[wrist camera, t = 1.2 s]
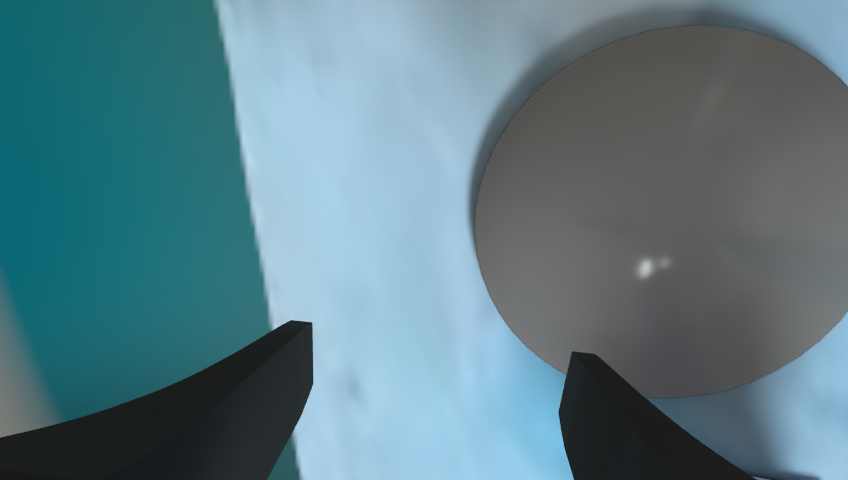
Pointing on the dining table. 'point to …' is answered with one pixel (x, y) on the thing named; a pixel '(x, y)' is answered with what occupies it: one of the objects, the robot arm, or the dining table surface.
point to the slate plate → (673, 210)
